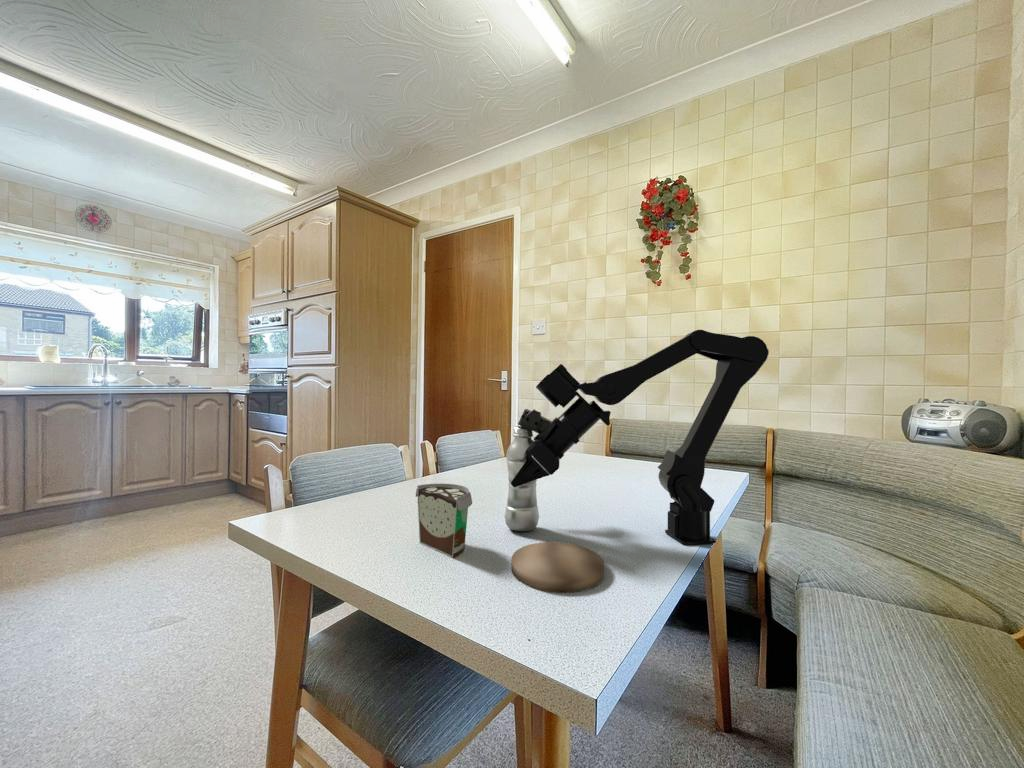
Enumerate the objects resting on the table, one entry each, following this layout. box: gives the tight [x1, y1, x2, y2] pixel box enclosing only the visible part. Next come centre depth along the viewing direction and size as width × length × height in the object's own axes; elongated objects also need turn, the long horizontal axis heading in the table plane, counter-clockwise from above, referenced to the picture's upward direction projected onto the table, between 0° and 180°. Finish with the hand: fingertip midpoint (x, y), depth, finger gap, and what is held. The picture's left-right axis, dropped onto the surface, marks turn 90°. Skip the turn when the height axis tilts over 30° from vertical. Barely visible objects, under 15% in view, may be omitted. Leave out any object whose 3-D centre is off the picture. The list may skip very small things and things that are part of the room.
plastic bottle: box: [504, 425, 540, 532], centre depth 78 cm, size 6×7×20 cm
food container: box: [415, 482, 473, 559], centre depth 70 cm, size 12×6×10 cm, turn 47°
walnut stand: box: [510, 541, 606, 593], centre depth 61 cm, size 14×14×2 cm
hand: (515, 479), depth 79 cm, fingers open, 9 cm apart
